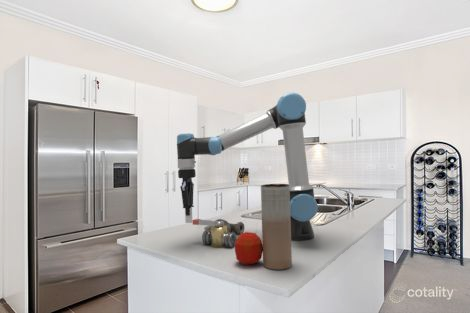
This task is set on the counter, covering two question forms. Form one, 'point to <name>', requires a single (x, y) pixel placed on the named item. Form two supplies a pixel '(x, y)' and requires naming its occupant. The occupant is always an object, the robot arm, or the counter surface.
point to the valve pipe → (219, 237)
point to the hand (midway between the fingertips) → (189, 222)
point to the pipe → (230, 227)
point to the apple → (248, 248)
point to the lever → (208, 223)
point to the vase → (276, 226)
